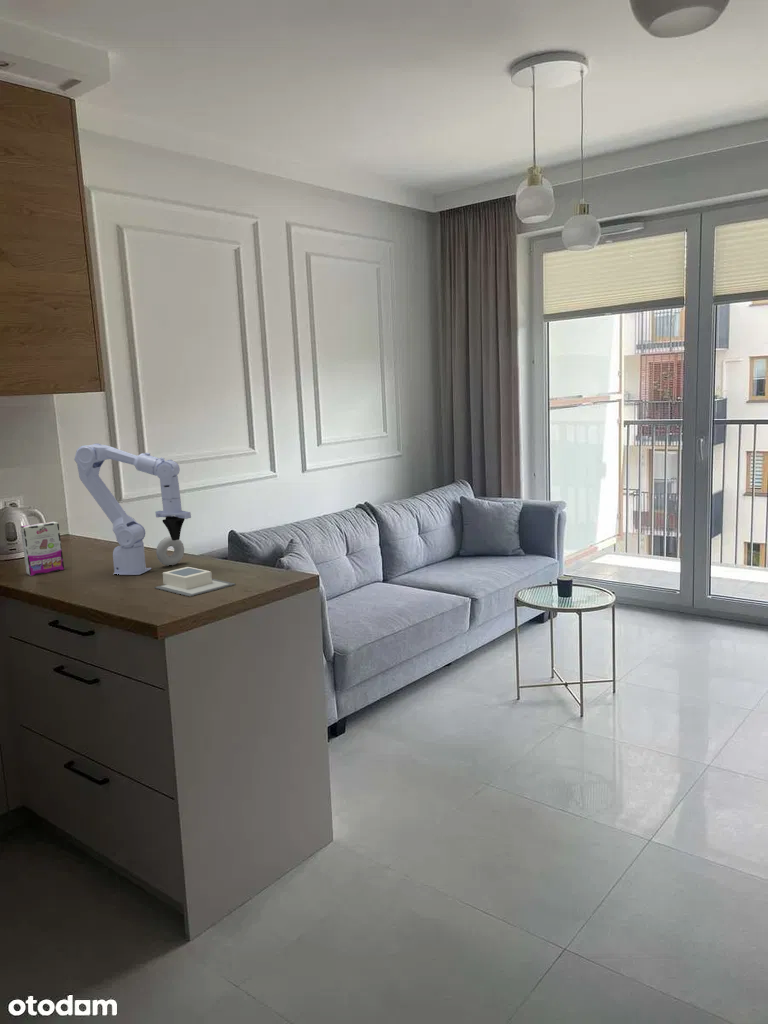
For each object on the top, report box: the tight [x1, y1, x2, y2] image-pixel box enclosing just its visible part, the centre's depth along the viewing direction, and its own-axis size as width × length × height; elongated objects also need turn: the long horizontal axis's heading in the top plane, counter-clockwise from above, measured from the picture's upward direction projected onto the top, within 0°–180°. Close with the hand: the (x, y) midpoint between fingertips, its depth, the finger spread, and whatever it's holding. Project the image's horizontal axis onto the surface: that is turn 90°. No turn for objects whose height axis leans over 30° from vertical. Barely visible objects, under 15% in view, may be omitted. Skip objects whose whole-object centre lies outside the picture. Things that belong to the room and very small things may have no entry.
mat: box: [154, 578, 236, 597], centre depth 226 cm, size 18×16×1 cm
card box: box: [162, 566, 213, 590], centre depth 228 cm, size 4×9×12 cm
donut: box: [155, 536, 185, 567], centre depth 256 cm, size 10×4×10 cm, turn 136°
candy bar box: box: [20, 521, 65, 577], centre depth 254 cm, size 11×5×16 cm, turn 130°
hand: (175, 539), depth 246 cm, fingers closed
